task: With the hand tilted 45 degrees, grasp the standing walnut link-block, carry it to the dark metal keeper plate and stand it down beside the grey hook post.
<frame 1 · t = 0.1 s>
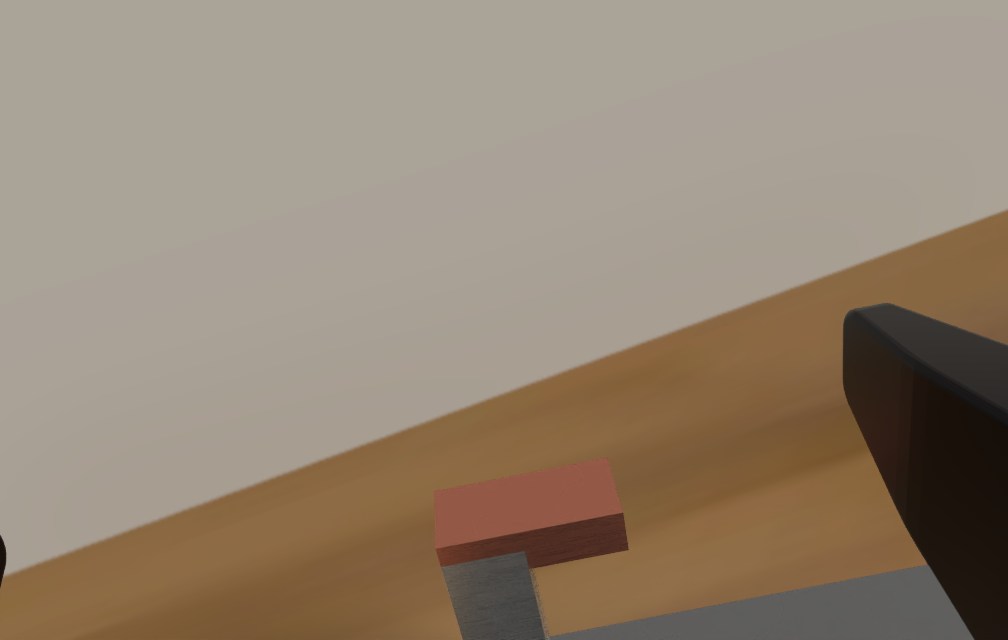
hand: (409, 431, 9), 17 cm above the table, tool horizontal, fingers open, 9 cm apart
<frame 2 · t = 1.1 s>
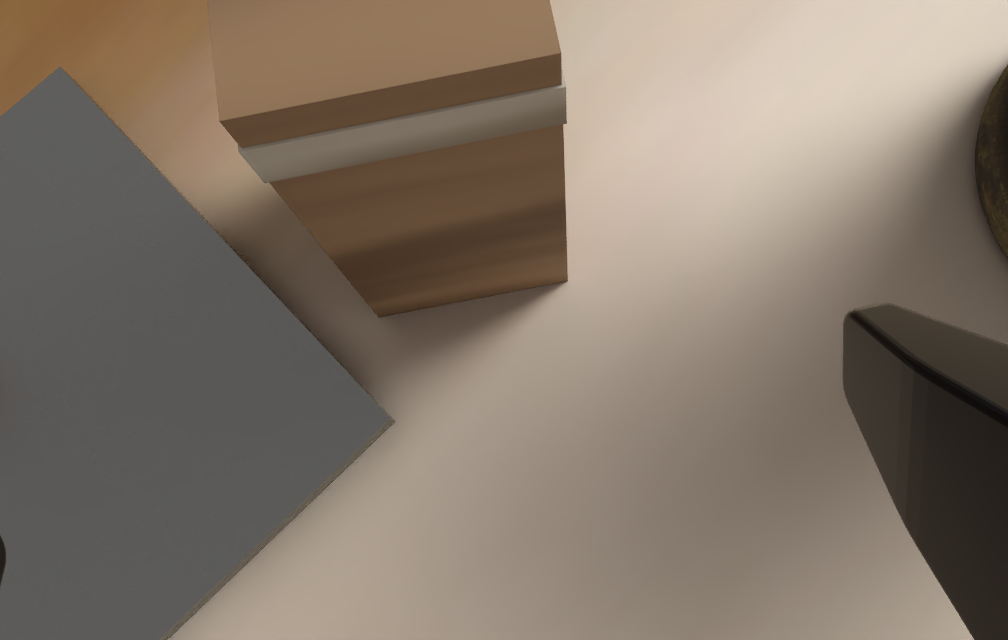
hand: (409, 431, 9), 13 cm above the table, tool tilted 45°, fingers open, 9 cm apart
link block: (457, 210, 24), on the table
keeper: (19, 419, 24), on the table
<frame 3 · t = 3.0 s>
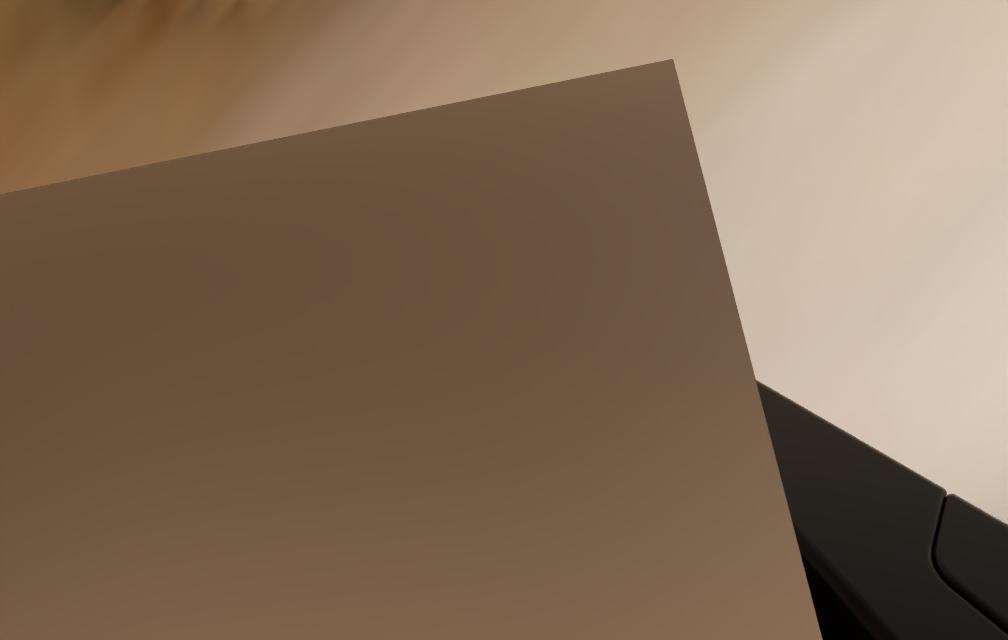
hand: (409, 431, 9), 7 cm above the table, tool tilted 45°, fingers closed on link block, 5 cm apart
link block: (491, 564, 15), on the table, touching gripper
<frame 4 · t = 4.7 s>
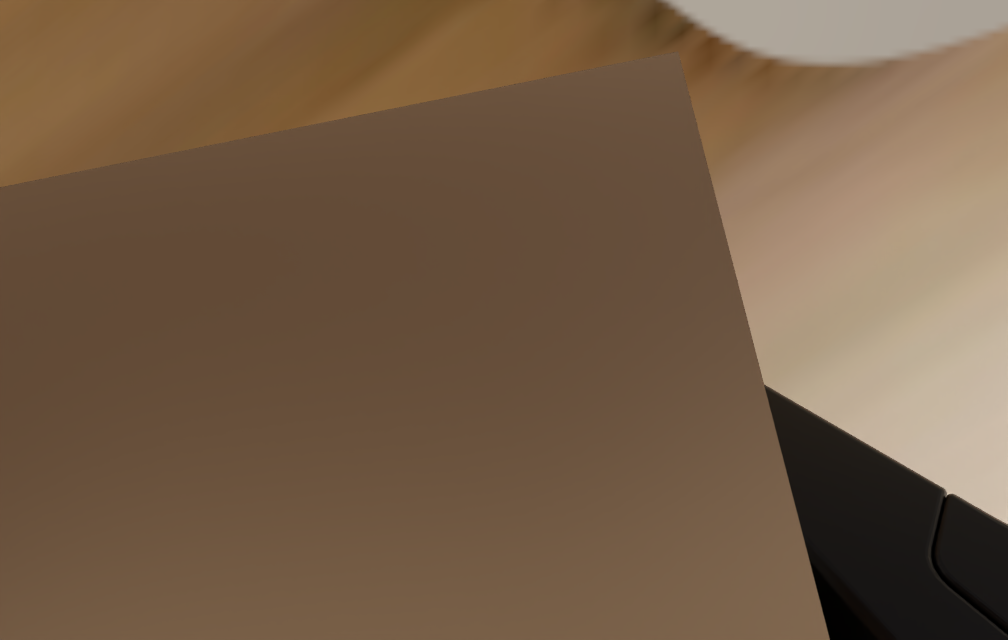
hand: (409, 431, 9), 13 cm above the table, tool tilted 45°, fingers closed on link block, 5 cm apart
link block: (493, 561, 15), point 7 cm above the table, touching gripper
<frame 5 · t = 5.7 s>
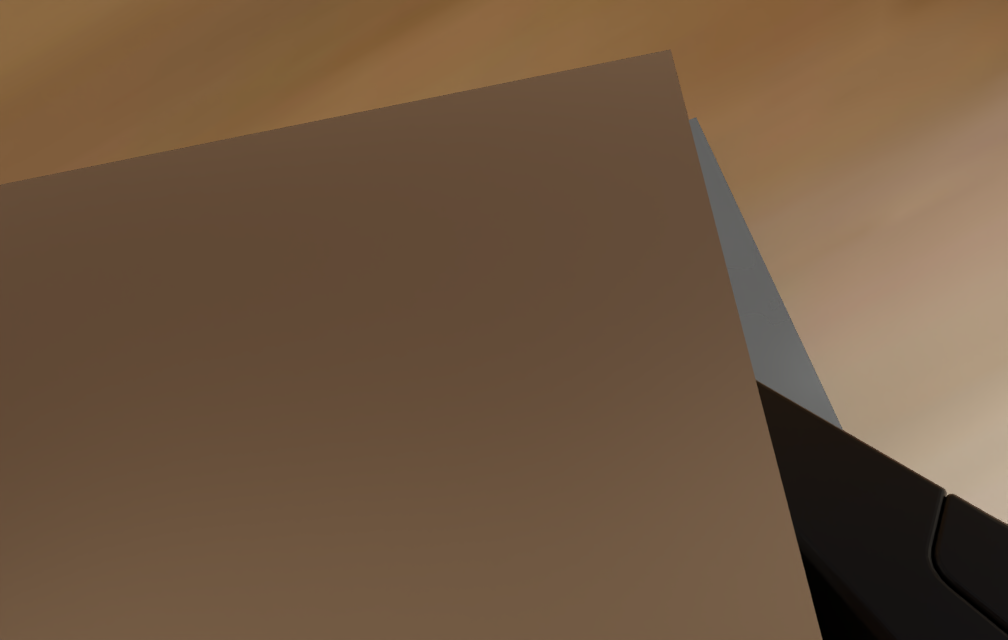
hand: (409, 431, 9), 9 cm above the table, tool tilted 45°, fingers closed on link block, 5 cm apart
link block: (490, 561, 15), point 3 cm above the table, touching gripper
keeper: (503, 554, 18), on the table
when the fingers open (8 cm above the table, at t = 6.3 s): link block stays where it is, resting on keeper.
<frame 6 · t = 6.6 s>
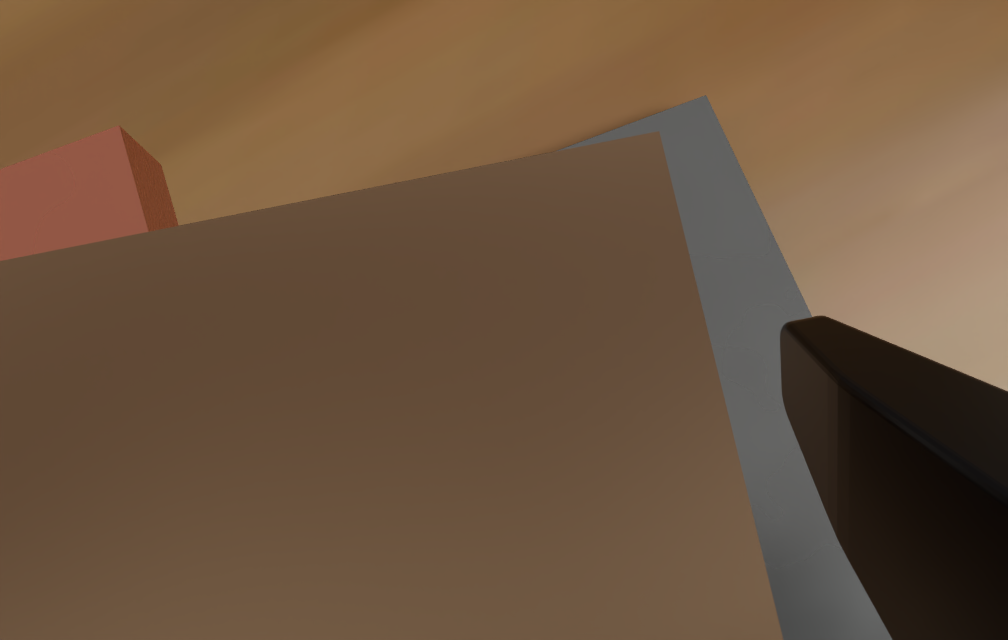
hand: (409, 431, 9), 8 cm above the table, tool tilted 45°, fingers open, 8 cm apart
link block: (495, 562, 16), point 1 cm above the table, touching keeper
keeper: (499, 563, 17), on the table
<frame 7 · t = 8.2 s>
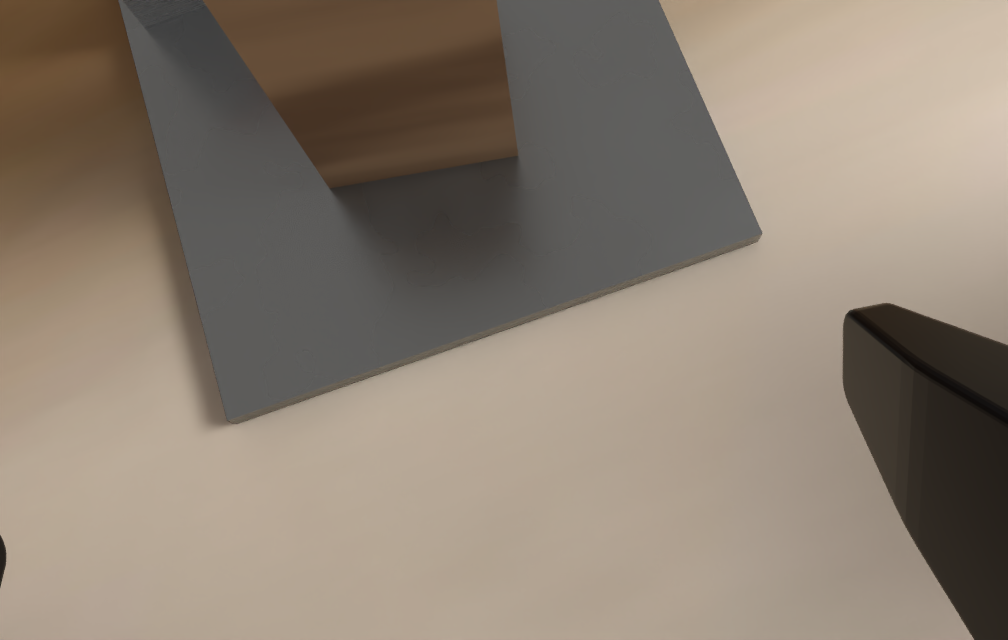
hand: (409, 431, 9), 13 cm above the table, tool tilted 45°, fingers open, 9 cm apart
link block: (411, 86, 24), point 1 cm above the table, touching keeper
keeper: (415, 98, 25), on the table
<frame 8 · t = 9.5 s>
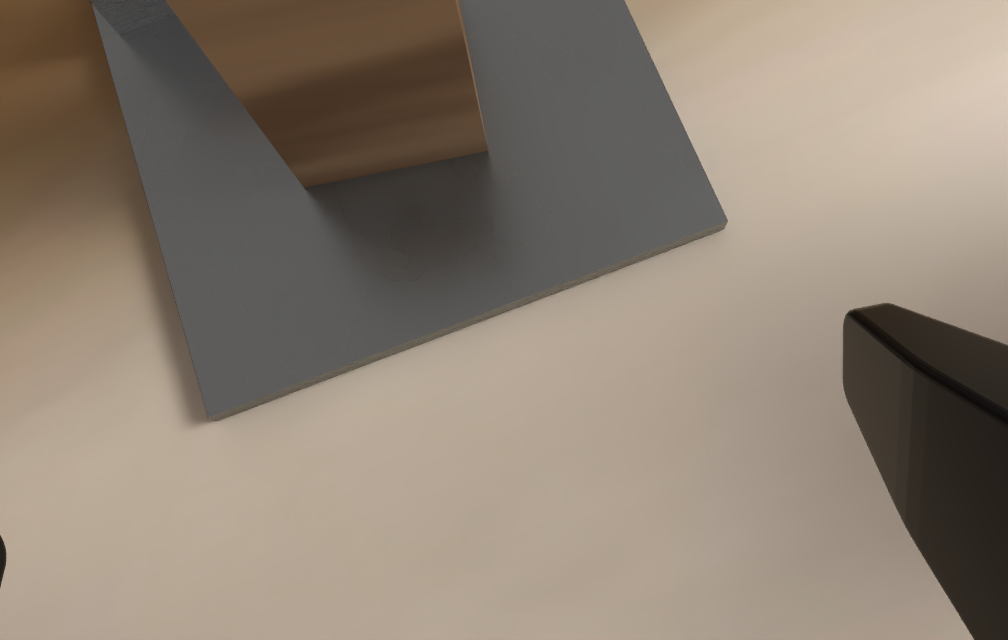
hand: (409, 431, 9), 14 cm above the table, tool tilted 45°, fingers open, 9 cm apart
link block: (382, 86, 25), point 1 cm above the table, touching keeper
keeper: (387, 97, 25), on the table
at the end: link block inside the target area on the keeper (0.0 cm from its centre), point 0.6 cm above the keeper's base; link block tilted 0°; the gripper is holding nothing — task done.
